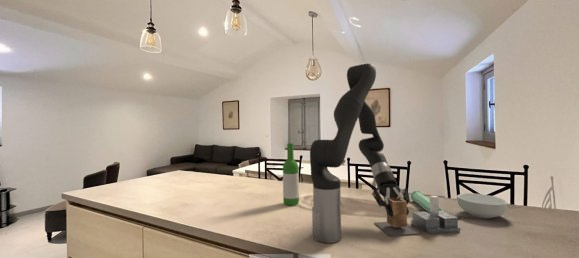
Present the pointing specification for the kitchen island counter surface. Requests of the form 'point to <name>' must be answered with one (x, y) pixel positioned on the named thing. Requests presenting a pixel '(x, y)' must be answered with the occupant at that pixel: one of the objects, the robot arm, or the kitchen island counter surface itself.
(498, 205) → the cereal bowl
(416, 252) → the kitchen island counter surface
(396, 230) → the mat
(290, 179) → the wine bottle
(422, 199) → the pale green hexagonal rod
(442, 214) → the vise
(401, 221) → the sleeve
